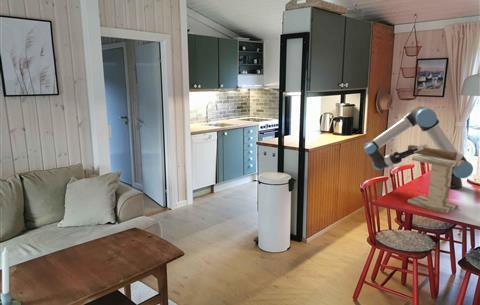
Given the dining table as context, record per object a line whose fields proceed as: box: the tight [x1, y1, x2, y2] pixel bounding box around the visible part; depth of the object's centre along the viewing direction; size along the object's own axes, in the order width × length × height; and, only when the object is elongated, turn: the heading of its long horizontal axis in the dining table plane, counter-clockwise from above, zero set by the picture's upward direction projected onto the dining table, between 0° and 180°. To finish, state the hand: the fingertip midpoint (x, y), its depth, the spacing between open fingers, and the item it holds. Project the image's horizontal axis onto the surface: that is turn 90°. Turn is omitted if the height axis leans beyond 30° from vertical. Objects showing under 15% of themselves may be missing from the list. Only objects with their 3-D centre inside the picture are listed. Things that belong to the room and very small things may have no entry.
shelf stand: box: [407, 154, 464, 215], centre depth 215 cm, size 16×22×29 cm
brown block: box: [407, 144, 457, 160], centre depth 220 cm, size 4×28×4 cm, turn 34°
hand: (424, 146), depth 223 cm, fingers closed on brown block, 4 cm apart
